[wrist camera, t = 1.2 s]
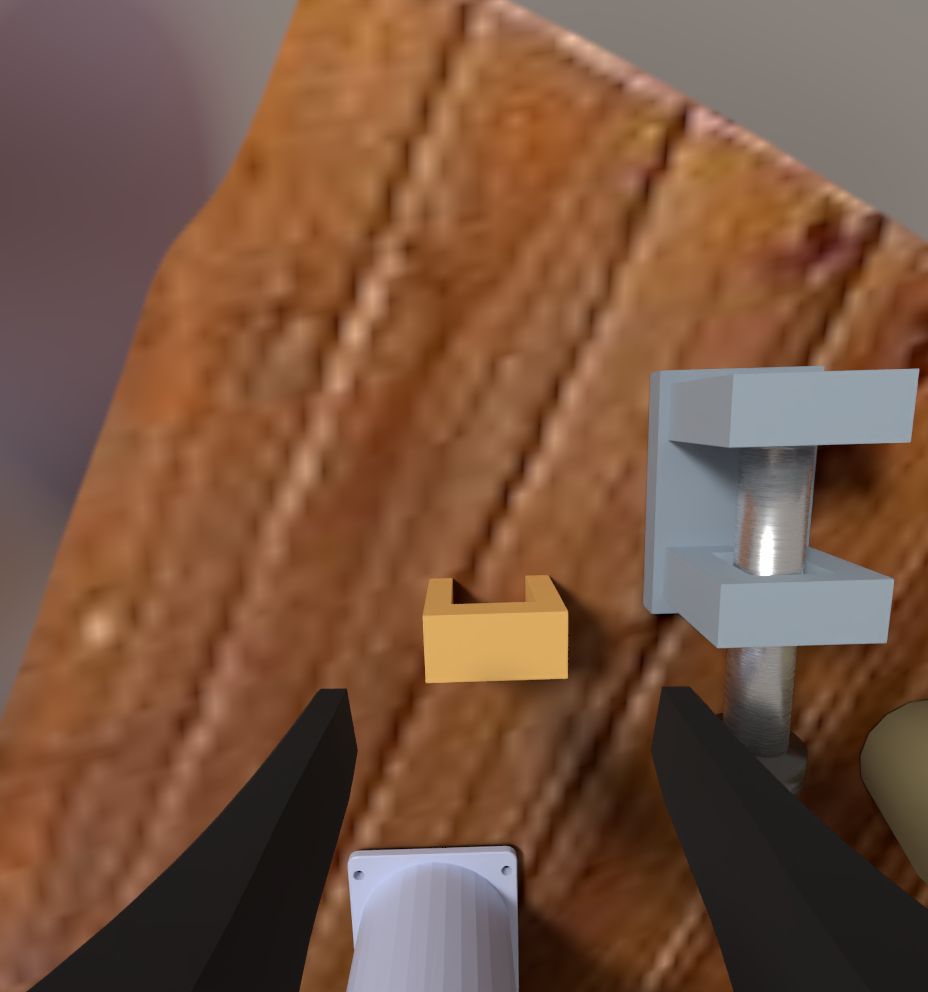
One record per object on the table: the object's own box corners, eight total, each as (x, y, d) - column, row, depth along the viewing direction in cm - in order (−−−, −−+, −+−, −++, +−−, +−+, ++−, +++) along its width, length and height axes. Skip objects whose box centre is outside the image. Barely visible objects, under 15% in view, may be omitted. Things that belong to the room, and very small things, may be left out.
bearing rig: (787, 600, 22) (896, 662, 16) (643, 604, 22) (704, 668, 16) (806, 368, 20) (934, 350, 15) (650, 372, 20) (720, 357, 15)
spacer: (548, 630, 22) (567, 678, 18) (431, 634, 22) (425, 683, 18) (548, 574, 21) (568, 611, 18) (429, 578, 21) (422, 616, 18)
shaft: (768, 736, 21) (827, 798, 18) (689, 739, 21) (732, 800, 18) (792, 442, 19) (863, 448, 16) (703, 445, 19) (756, 452, 16)
